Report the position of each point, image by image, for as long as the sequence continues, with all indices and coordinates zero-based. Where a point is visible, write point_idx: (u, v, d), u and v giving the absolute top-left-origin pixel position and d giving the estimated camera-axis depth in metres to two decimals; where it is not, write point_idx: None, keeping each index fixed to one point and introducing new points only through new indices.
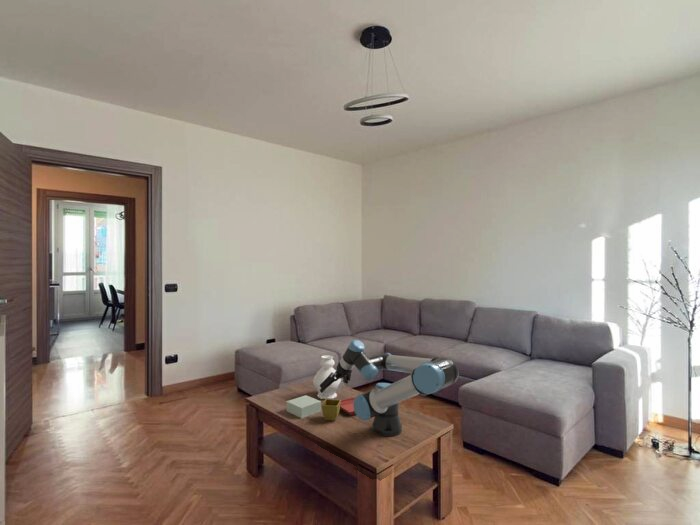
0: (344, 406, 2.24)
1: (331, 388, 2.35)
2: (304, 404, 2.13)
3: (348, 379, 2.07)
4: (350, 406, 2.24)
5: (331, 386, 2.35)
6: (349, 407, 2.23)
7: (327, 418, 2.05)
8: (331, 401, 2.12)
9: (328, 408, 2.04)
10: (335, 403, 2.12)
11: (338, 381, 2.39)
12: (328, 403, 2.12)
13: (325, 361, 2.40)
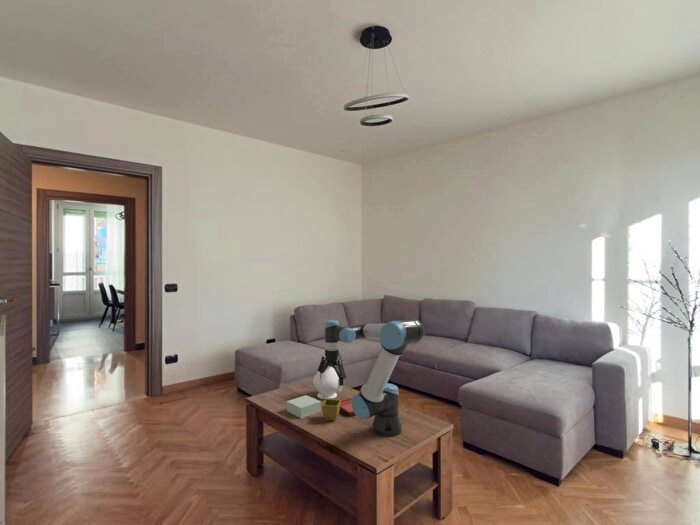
0: (344, 406, 2.24)
1: (331, 388, 2.35)
2: (303, 404, 2.13)
3: (341, 375, 2.01)
4: (350, 406, 2.24)
5: (331, 386, 2.35)
6: (349, 407, 2.23)
7: (327, 418, 2.05)
8: (331, 401, 2.12)
9: (328, 408, 2.04)
10: (335, 403, 2.12)
11: None
12: (328, 403, 2.12)
13: None
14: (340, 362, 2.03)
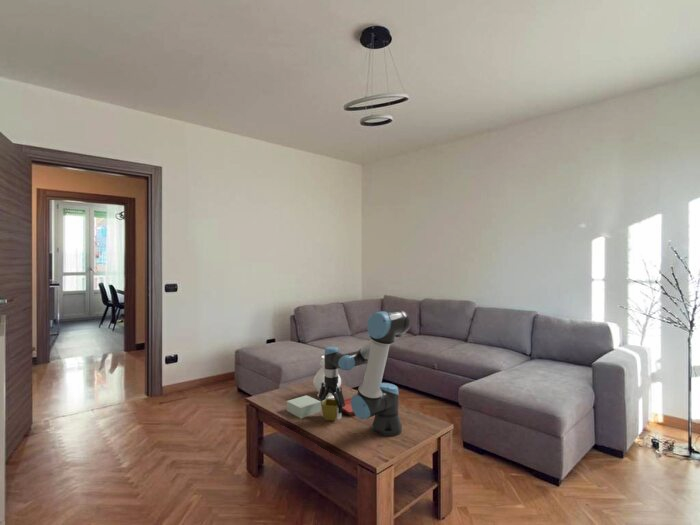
0: (344, 406, 2.24)
1: None
2: (303, 404, 2.13)
3: (339, 403, 2.02)
4: (350, 406, 2.24)
5: None
6: (349, 407, 2.23)
7: (327, 418, 2.05)
8: (331, 401, 2.12)
9: (328, 408, 2.04)
10: (335, 403, 2.12)
11: (338, 381, 2.39)
12: (328, 403, 2.12)
13: None
14: (339, 390, 2.03)
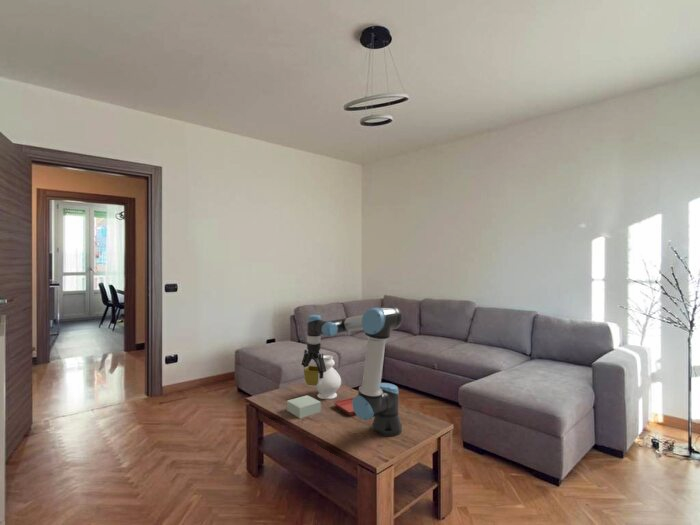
0: (344, 406, 2.24)
1: (331, 388, 2.35)
2: (303, 404, 2.13)
3: (321, 369, 2.08)
4: (350, 406, 2.24)
5: (331, 386, 2.35)
6: (349, 407, 2.23)
7: (309, 383, 2.12)
8: (314, 368, 2.19)
9: (310, 373, 2.11)
10: (317, 370, 2.18)
11: (338, 381, 2.39)
12: (311, 369, 2.19)
13: (325, 361, 2.40)
14: (321, 356, 2.10)
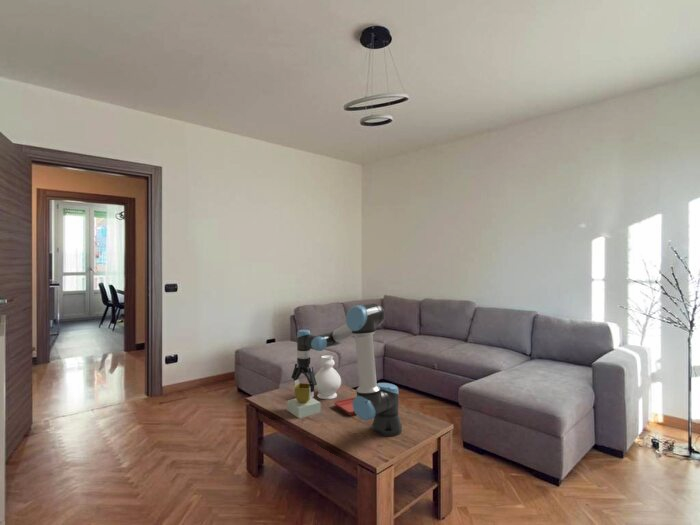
0: (344, 406, 2.24)
1: (331, 388, 2.35)
2: (302, 405, 2.13)
3: (311, 382, 2.12)
4: (350, 406, 2.24)
5: (331, 386, 2.35)
6: (349, 407, 2.23)
7: (299, 400, 2.16)
8: (304, 385, 2.23)
9: (300, 391, 2.15)
10: (308, 387, 2.22)
11: (338, 381, 2.39)
12: (301, 387, 2.23)
13: (325, 361, 2.40)
14: (311, 369, 2.13)
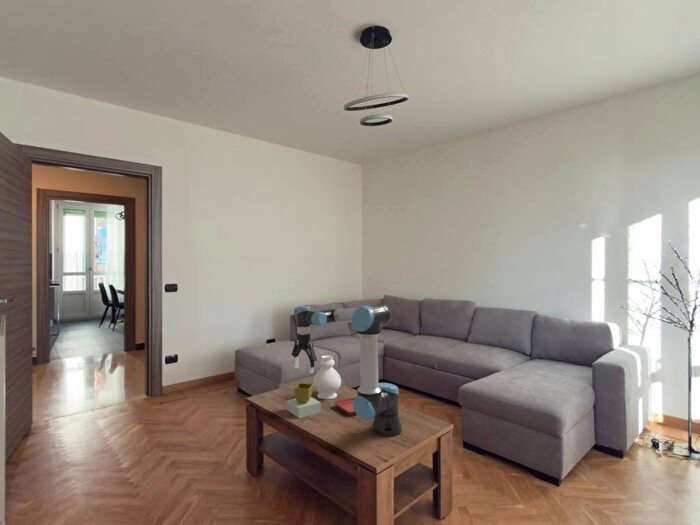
0: (344, 406, 2.24)
1: (331, 388, 2.35)
2: (302, 405, 2.13)
3: (311, 358, 2.12)
4: (350, 406, 2.24)
5: (331, 386, 2.35)
6: (349, 407, 2.23)
7: (299, 400, 2.16)
8: (304, 385, 2.22)
9: (300, 391, 2.14)
10: (308, 387, 2.22)
11: (338, 381, 2.39)
12: (301, 387, 2.23)
13: (325, 361, 2.40)
14: (311, 345, 2.13)
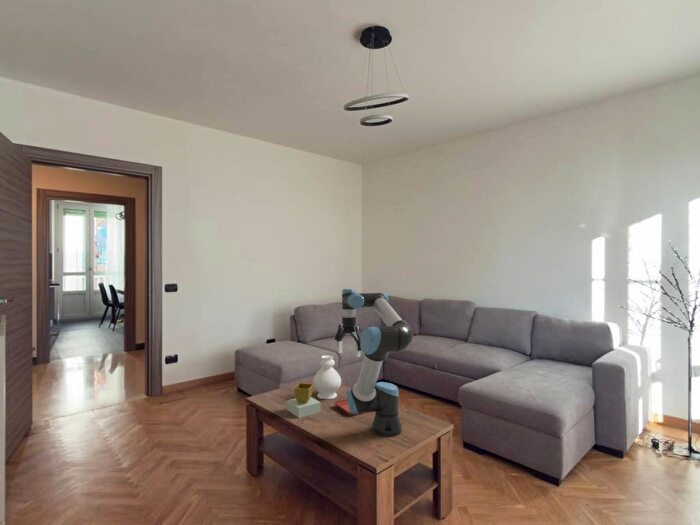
0: (344, 406, 2.24)
1: (331, 388, 2.35)
2: (302, 405, 2.13)
3: (359, 341, 2.06)
4: None
5: (331, 386, 2.35)
6: None
7: (299, 400, 2.16)
8: (304, 385, 2.22)
9: (300, 391, 2.14)
10: (307, 387, 2.22)
11: (338, 381, 2.39)
12: (301, 387, 2.23)
13: (325, 361, 2.40)
14: (358, 328, 2.07)
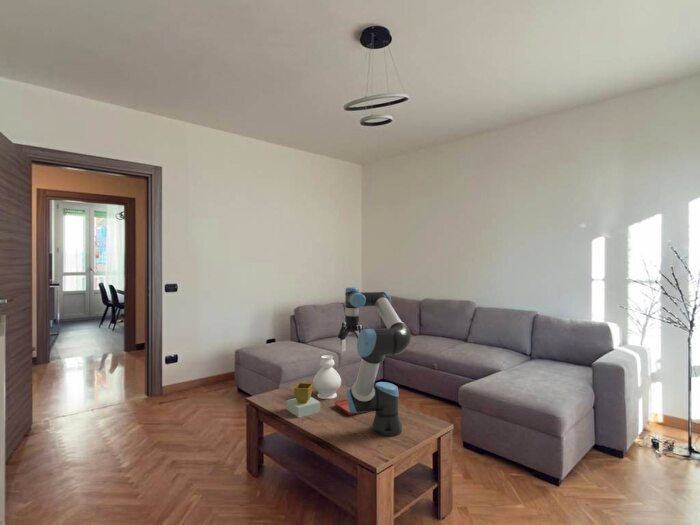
0: (344, 406, 2.24)
1: (331, 388, 2.35)
2: (302, 404, 2.14)
3: None
4: None
5: (331, 386, 2.35)
6: None
7: (299, 400, 2.16)
8: (303, 385, 2.23)
9: (300, 391, 2.15)
10: (307, 387, 2.22)
11: (338, 381, 2.39)
12: (301, 387, 2.23)
13: (325, 361, 2.40)
14: (361, 327, 2.07)
